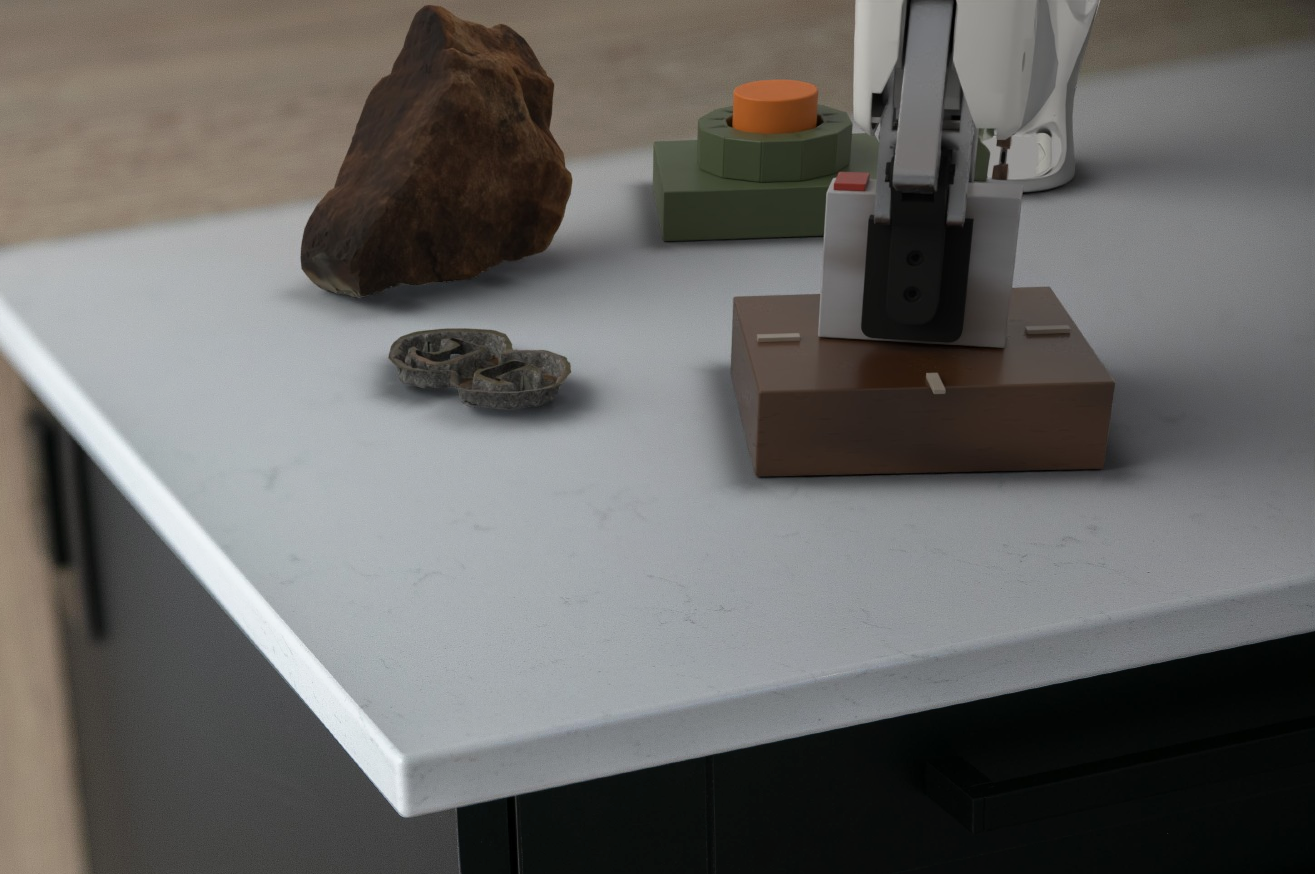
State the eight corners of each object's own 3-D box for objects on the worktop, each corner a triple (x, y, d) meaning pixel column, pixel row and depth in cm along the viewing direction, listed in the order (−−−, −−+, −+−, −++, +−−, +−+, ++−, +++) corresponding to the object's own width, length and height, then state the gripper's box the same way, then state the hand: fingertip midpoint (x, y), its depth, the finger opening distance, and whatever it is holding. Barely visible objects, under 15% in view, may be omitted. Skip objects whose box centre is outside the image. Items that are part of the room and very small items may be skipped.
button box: (870, 179, 92) (877, 92, 90) (899, 233, 85) (906, 140, 83) (652, 188, 93) (653, 102, 91) (662, 241, 86) (664, 150, 84)
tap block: (1037, 359, 72) (1047, 275, 70) (1109, 477, 63) (1122, 384, 61) (728, 368, 73) (731, 285, 71) (756, 485, 64) (761, 394, 63)
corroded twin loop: (501, 433, 69) (501, 405, 68) (357, 374, 74) (355, 348, 74) (605, 392, 71) (605, 365, 71) (458, 338, 77) (457, 313, 76)
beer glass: (920, 194, 89) (950, -162, 82) (930, 151, 95) (960, -186, 88) (1084, 199, 87) (1130, -166, 80) (1084, 155, 93) (1128, -190, 86)
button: (810, 117, 88) (812, 77, 88) (821, 139, 85) (823, 98, 84) (728, 120, 89) (730, 80, 88) (736, 142, 86) (737, 101, 85)
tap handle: (1007, 331, 66) (1024, 176, 64) (1004, 348, 65) (1021, 191, 62) (824, 320, 68) (833, 170, 65) (817, 337, 67) (826, 184, 64)
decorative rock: (517, 228, 89) (513, -22, 84) (599, 261, 84) (600, -1, 79) (284, 286, 84) (264, 26, 79) (358, 325, 79) (342, 51, 74)
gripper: (1099, -257, 50) (1020, 424, 59) (1108, -312, 62) (1043, 254, 71) (794, -247, 52) (764, 406, 61) (863, -302, 65) (830, 245, 74)
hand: (914, 320), depth 66 cm, fingers closed on tap handle
